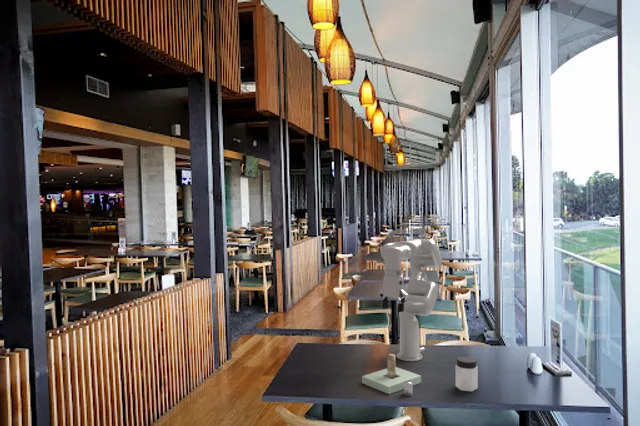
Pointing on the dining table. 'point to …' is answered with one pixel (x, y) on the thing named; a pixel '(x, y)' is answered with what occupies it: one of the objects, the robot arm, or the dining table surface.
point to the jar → (466, 374)
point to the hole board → (390, 380)
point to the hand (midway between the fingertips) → (393, 309)
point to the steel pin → (408, 388)
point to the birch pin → (391, 366)
